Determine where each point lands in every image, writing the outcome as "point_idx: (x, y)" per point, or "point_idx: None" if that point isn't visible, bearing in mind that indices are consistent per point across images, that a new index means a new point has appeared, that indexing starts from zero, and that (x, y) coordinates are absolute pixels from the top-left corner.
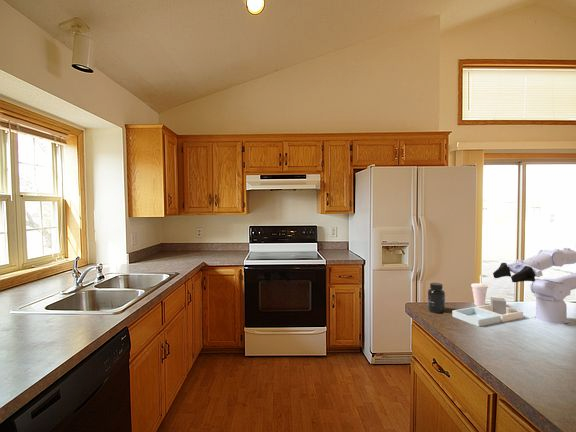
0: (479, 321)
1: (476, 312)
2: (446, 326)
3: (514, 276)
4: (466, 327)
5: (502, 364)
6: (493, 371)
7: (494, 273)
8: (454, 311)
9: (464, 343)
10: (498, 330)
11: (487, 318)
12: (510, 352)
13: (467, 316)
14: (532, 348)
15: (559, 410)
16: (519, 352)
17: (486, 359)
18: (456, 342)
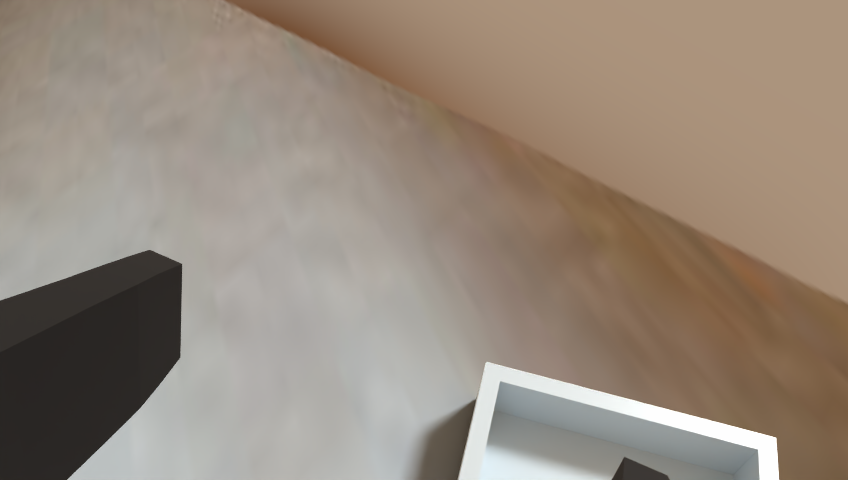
0: (481, 380)
1: None
2: (621, 265)
3: (104, 276)
4: (536, 345)
5: (201, 62)
6: (216, 7)
7: (622, 464)
8: (747, 430)
9: (406, 130)
10: (352, 471)
11: (461, 469)
12: (195, 178)
13: (597, 393)
14: None
15: None
16: (156, 207)
17: (265, 61)
18: (438, 116)
